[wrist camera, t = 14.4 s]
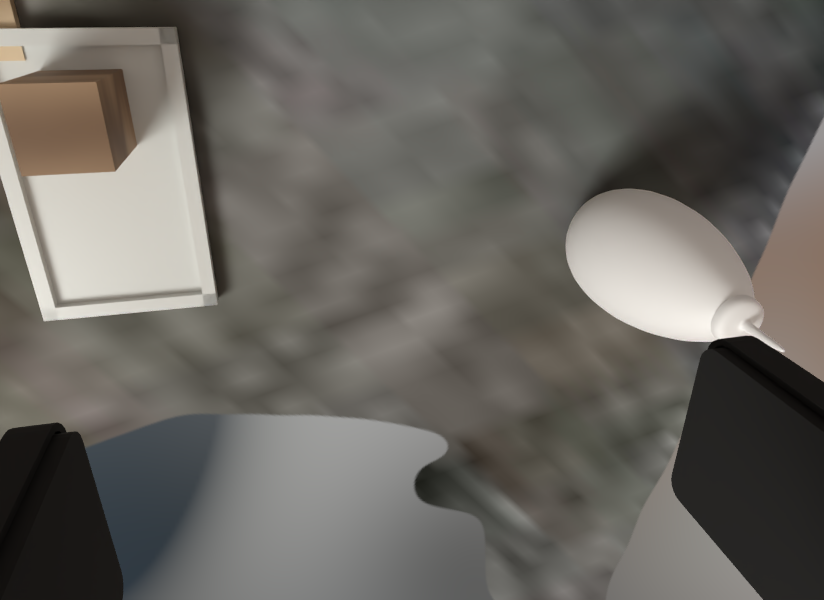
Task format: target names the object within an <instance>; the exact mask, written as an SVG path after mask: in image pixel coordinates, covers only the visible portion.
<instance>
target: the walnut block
mask: <svg viewBox="0 0 824 600" xmlns="http://www.w3.org/2000/svg"><path fill="white" fill-rule="evenodd" d="M0 102H1V105H2V109H3V112H4V116H5V120H6V123H7V127H8V130H9V134H10V137H11V141H12V144H13V148H14V151H15V155H16V158H17V162H18V165H19V169H20V172H21V176H40V175H60V174H79V173H99V172H116V170H117V169H118V168H119V167H120V166H121V164H122V163H123V162H124V161H125V160H126V158H127V157H128V156H129V155H130V154H131V152H132V151H133V150H134V149H135V148H136V146H137V142H136V137H135V132H134V127H133V122H132V116H131V111H130V106H129V101H128V96H127V91H126V86H125V80H124V75H123V70H122V69H100V70H48V71H36V72H33V73H30V74H27V75H24V76H21V77H17V78H14V79H11V80H8V81H5V82H1V83H0Z"/></svg>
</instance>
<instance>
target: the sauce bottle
mask: <svg viewBox="0 0 824 600" xmlns="http://www.w3.org/2000/svg"><path fill="white" fill-rule="evenodd" d="M566 255H567V261H568V265H569V267H570V269H571V272H572V274H573V276H574V278H575V280H576V281H577V283H578V284H579V286H580V287H581V288H582V289H583V290H584V292H585V293H586V294H587V295H588V296H589V297H590V298H591V299H592V300H593V301H594V302H595V303H596V304H597V305H599V306H600V307H601V308H603V309H604V310H605V311H607V312H608V313H609V314H611V315H612V316H614V317H616V318H617V319H619V320H621V321H623V322H625V323H627V324H629V325H631V326H634V327H636V328H638V329H640V330H643V331H646V332H648V333H652V334H655V335H659V336H663V337H667V338H672V339H676V340H683V341H693V342H711V341H715V340H717V339H723V338H731V337H739V336H754V337H756V338H758V339H760V340H761V341H763V342H764V343H766V344H767V345H769V346H770V347H772V348H774V349H776V350H778V351H781V352H785V349H784V348H783V347H782V346H781V345H780V344H779V343H778V342H776V341H775V340H774V339H773V338H771V337H770V336H769V335H767V334H766V333H765V332H763V331H762V330H760V329H759V328H760V326H761V324H762V321H763V318H764V310H763V307H762V305H761V304H760V303H759V302H758V301H757V300H756V299H755V298H754V290H753V286H752V282H751V279H750V276H749V274H748V272H747V270H746V268H745V266H744V264H743V262H742V261H741V259H740V257H739V256H738V254H737V253H736V251H735V249H734V248H733V247H732V245H731V244H730V243H729V241H728V240H727V239H726V238H725V237H724V236H723V234H722V233H721V232H720V231H719V230H717V229H716V228H715V227H714V226H713V225H712V224H711V223H710V222H709V221H708V220H707V219H706V218H704V217H703V216H702V215H700V214H699V213H697V212H696V211H694V210H693V209H691V208H689V207H688V206H686V205H684V204H683V203H681V202H679V201H677V200H675V199H673V198H670V197H668V196H665V195H662V194H659V193H655V192H652V191H648V190H640V189H617V190H611V191H607V192H604V193H601V194H599V195H597V196H595V197H593V198H591V199H590V200H588V201H587V202H586V203H585V204H584V205H582V206H581V208H580V209H579V210H578V211H577V212H576V214H575V216H574V217H573V219H572V221H571V223H570V225H569V228H568V232H567V236H566Z"/></svg>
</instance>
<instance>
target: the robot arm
mask: <svg viewBox="0 0 824 600" xmlns="http://www.w3.org/2000/svg"><path fill="white" fill-rule="evenodd" d="M671 481H672V487H673V491H674V493H675V495H676V497H677V498H678V500H679V501H680V502H681V503H682V505H683V506H684V507H685V508H686V509H687V510H688V512H689V513H690V514H691V515H692V516H693V518H694V519H695V520H696V521H697V522H698V523H699V525H700V526H701V527H702V528H703V529H704V530H705V532H706V533H707V534H708V535H709V536H710V538H711V539H712V540H713V541H714V542H715V543H716V545H717V546H718V547H719V548H720V549H721V550H722V552H723V553H724V554H725V555H726V556H727V558H729V560H730V561H731V562H732V563H733V565H734V566H735V567H736V568H737V569H738V570H739V571H740V573H741V574H742V575H743V576H744V577H745V579H746V580H747V581H748V582H749V583H750V585H751V586H752V587H753V588H754V589H755V590H756V592H757V593H758V594H759V595H760V596H761V597H762V599H763V600H824V382H823V381H821V380H820V379H818V378H816V377H815V376H814V375H812V374H811V373H809V372H808V371H806V370H805V369H803V368H801V367H800V366H799V365H797V364H796V363H794V362H792V361H791V360H790V359H788V358H787V357H785V356H784V355H782V354H781V353H779V352H778V351H776V350H775V349H773V348H772V347H770V346H769V345H767V344H766V343H764V342H763V341H761V340H760V339H758V338H756V337H754V336H739V337H731V338H723V339H717V340H715V341H713V342H712V343H711V344H710V345H709V347H708V350H706V351H704V353H703V354H702V356H701V358H700V362H699V366H698V370H697V374H696V378H695V382H694V386H693V390H692V395H691V399H690V403H689V407H688V411H687V415H686V419H685V423H684V427H683V431H682V436H681V440H680V444H679V448H678V452H677V456H676V460H675V464H674V468H673V472H672V478H671ZM122 598H123V577H122V572H121V568H120V565H119V562H118V559H117V555H116V551H115V548H114V545H113V542H112V538H111V535H110V531H109V528H108V524H107V521H106V518H105V514H104V511H103V508H102V504H101V501H100V498H99V494H98V491H97V487H96V484H95V480H94V477H93V474H92V470H91V467H90V464H89V460H88V457H87V453H86V450H85V447H84V443H83V440H82V438H81V435H80V434H79V433H78V432H76V431H75V432H66V430H65V428H64V427H63V425H62V424H60V423H50V424H42V425H34V426H26V427H18V428H12V429H9V430H8V431H7V432H6V433H5V434H4V435H3V437H2V439H1V441H0V600H122Z"/></svg>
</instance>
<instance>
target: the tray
mask: <svg viewBox="0 0 824 600" xmlns="http://www.w3.org/2000/svg"><path fill="white" fill-rule="evenodd" d="M0 46H22V48H23V52H24V56H25V59H26V61H0V83H1V82H5V81H8V80H11V79H14V78H17V77H21V76H24V75H27V74H30V73H33V72H36V71H48V70H100V69H122V70H123V75H124V80H125V86H126V91H127V96H128V101H129V106H130V111H131V116H132V122H133V127H134V132H135V137H136V142H137V146H136V148H135V149H134V150H133V151H132V152H131V154H130V155H129V156H128V157H127V158H126V160H125V161H124V162H123V163H122V164H121V166H120V167H119V168H118V169H117V170H116V172H99V173H79V174H60V175H40V176H21V172H20V169H19V165H18V162H17V158H16V155H15V151H14V148H13V144H12V141H11V137H10V134H9V130H8V127H7V123H6V120H5V116H4V112H3V109H2V105H1V102H0V175H1V179H2V182H3V186H4V189H5V192H6V196H7V199H8V202H9V206H10V209H11V212H12V216H13V219H14V222H15V226H16V229H17V232H18V236H19V239H20V242H21V246H22V249H23V252H24V256H25V259H26V263H27V266H28V269H29V273H30V276H31V279H32V283H33V286H34V289H35V293H36V296H37V299H38V303H39V306H40V309H41V313H42V316H43V319H44V321H52V320H62V319H73V318H83V317H94V316H104V315H115V314H125V313H136V312H146V311H157V310H167V309H178V308H188V307H199V306H209V305H218V292H217V286H216V279H215V273H214V266H213V260H212V253H211V247H210V240H209V234H208V227H207V221H206V214H205V208H204V201H203V195H202V188H201V182H200V175H199V169H198V162H197V156H196V149H195V143H194V136H193V130H192V123H191V117H190V110H189V104H188V97H187V90H186V84H185V77H184V71H183V64H182V58H181V51H180V45H179V38H178V32H177V27H82V28H0Z"/></svg>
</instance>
